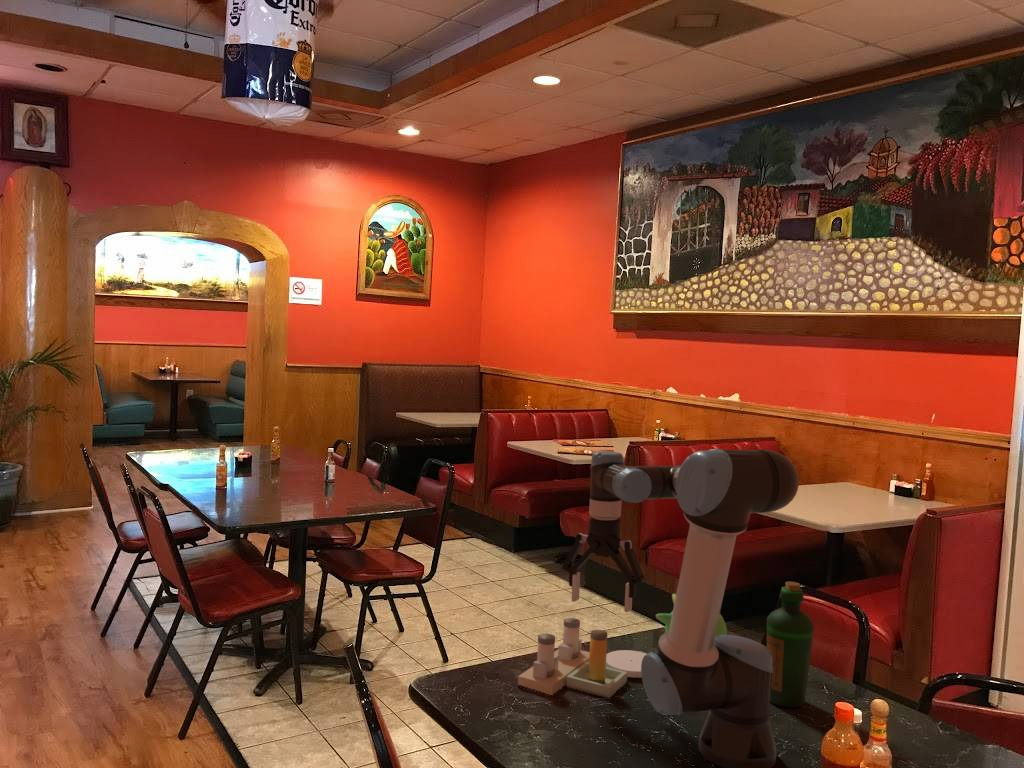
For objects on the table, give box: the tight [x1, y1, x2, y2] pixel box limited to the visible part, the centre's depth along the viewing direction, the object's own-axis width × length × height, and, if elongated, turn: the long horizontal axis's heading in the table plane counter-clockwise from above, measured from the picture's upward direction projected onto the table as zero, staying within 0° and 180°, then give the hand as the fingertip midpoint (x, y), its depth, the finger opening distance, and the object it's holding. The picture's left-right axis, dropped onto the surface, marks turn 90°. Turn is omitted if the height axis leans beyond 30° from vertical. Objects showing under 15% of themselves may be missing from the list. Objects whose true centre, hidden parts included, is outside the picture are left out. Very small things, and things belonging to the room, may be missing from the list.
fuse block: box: [517, 617, 590, 696], centre depth 207 cm, size 24×9×12 cm, turn 150°
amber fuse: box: [588, 629, 608, 684], centre depth 202 cm, size 4×4×12 cm
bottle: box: [766, 581, 815, 709], centre depth 196 cm, size 11×11×28 cm
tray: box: [565, 662, 628, 699], centre depth 202 cm, size 11×11×2 cm
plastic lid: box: [606, 649, 647, 679], centre depth 213 cm, size 14×14×2 cm
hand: (601, 605), depth 201 cm, fingers open, 13 cm apart
